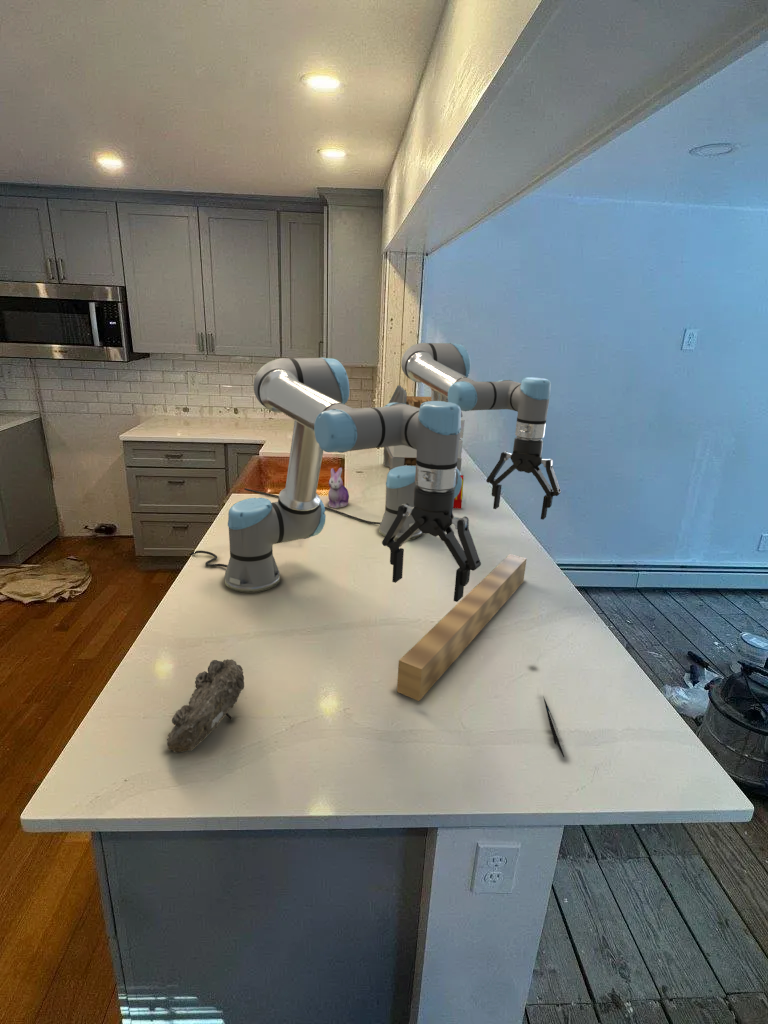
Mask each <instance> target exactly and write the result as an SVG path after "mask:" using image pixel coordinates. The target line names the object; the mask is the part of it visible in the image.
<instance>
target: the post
mask: <svg viewBox="0 0 768 1024" xmlns="http://www.w3.org/2000/svg"><path fill="white" fill-rule="evenodd" d="M527 561H528V559H527V557H524V556H520V555H519V556H518V555H515V554H511V553H509V554H508V555H507V556H506V557H505V558H503V560H501V561H500V562H499V563H498V565H496V566H495V568H493V569H492V570H491V571H490V572H489V573H488V574H487V575H486V576H485V577H484V578H483V579H482V580H481V581H479V583H478V584H477V585H476V586H474V587H473V589H471V590H470V591H469V592H468V594H466V595H465V596H463V597H462V598H461V599H460V600H459V601H458V602H457V604H456V605H455V606H453V608H452V609H450V611H449V612H447V613H446V614H445V615H444V616H443V617H442V619H440V620H439V621H438V622H437V623H436V624H435V625H434V626H433V627H432V628H431V629H430V630H429V631H428V632H427V633H425V634H424V635H423V636H422V637H421V639H419V640H418V641H417V643H415V644H414V645H413V646H412V647H411V648H410V649H409V650H408V651H406V653H404V654H403V656H402V657H400V659H399V660H398V667H397V668H398V670H397V684H396V685H397V686H396V692H397V693H399V694H401V695H403V696H406V697H408V698H411V699H412V700H415V701H418V702H420V701H421V700H422V699H423V698H424V696H425V695H426V694H427V693H428V692H429V691H430V690H431V688H433V686H434V685H435V684H436V682H438V680H439V679H440V678H441V677H442V676H443V674H444V673H445V672H446V671H447V670H448V669H449V668H450V667H451V665H452V664H453V663H454V662H455V661H456V660H457V659H458V657H459V656H460V655H461V654H462V653H463V652H464V651H465V650H466V648H467V647H468V646H469V645H470V644H471V643H472V642H473V640H474V639H475V638H476V637H477V635H478V634H479V633H480V632H481V631H482V630H483V629H484V628H485V626H486V625H487V624H488V623H489V622H490V621H491V620H492V619H493V617H495V615H496V614H497V613H498V612H499V611H500V610H501V608H502V607H503V606H504V605H505V604H506V602H508V600H509V599H510V598H511V597H512V596H513V594H514V593H515V592H516V591H517V590H518V589H519V587H521V585H522V584H523V583H524V581H525V575H526V567H527Z"/></svg>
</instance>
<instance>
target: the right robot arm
mask: <svg viewBox="0 0 768 1024" xmlns="http://www.w3.org/2000/svg"><path fill="white" fill-rule="evenodd" d="M471 362H472V361H471V357H470V354H469V352H468V350H467V349H466V347H465V346H464V345H463V344H460V343H452V342H419V343H416V344H413V345H411V346H410V347H408V348H407V349H406V350H405V352H404V353H403V355H402V357H401V363H400V364H401V370H402V372H403V374H404V376H405V377H407V378H408V379H409V380H410V381H412V382H414V383H418V384H419V383H420V384H421V383H422V384H424V385H425V386H427V387H429V388H430V390H431V391H430V392H431V393H430V397H431V401H443V402H451V403H454V404H457V405H458V406H459V407H460V409H461V412H471V411H497V410H498V411H499V410H510V411H514V412H517V416H516V424H515V431H514V433H515V434H514V435H515V437H514V438H513V439H514V440H513V448H512V453H510V452H508V450H504V451H502V452H501V453H500V456H499V460H497V461H498V462H497V463H496V465H495V466H494V467H493V469H492V471H491V472H490V473H489V475H488V477H487V478H486V479H485V480H486V482H487V483H489V484H491V485H492V487H491V496H492V497H493V498H494V499H493V510H497V509H498V508H499V507H500V504H501V503H500V502H501V493H502V484H500V483H501V482H503V481H504V480H505V479H506V478H507V477H508V476H510V474H512V473H513V472H514V471H515V470H516V471H518V472H521V473H522V472H523V473H526V474H531V473H532V476H534V477H535V479H536V480H537V482H538V483H539V485H540V487H541V488H542V489H543V491H544V493H545V495H544V496H543V500H542V506H541V508H542V509H541V515H540V520H545V519H546V518H547V513H548V509H550V508H551V507H552V506H553V499H554V497H558V496H559V495H561V493H562V491H561V487H560V485H559V481H558V478H557V475H556V472H555V469H554V459H553V458H552V457H551V458H543V457H542V453H543V449H544V447H543V445H544V440H543V439H544V438H545V433H546V425H547V417H548V411H549V405H550V399H551V388H552V387H551V386H552V383H551V381H550V380H549V379H547V378H542V377H531V376H529V377H524V378H522V380H521V382H519V381H514V380H511V379H500V380H496V381H475V380H474V379H471V378H469V374H470V373H471V368H472V363H471ZM509 460H511V462H512V464H511V466H509V467H508V468H507V469H505V471H504V472H503V473H502V474H500V475H499V472H500V471H501V470H502V468H503V466H504V465H505V463H506V461H509ZM541 464H542V465H543V468H545V472H546V474H547V477H548V480H549V482H548V480H547V478H546V477H545V475H544V474H543V472H542V469H541V468H540V465H541ZM415 473H416V466H407V465H404V466H399V467H395V468H393V469H391V470H390V469H389V470H388V472H387V475H386V480H385V504H384V505H385V507H384V508H385V509H384V513H383V515H382V519H381V522H378V521H370V520H367V519H363V518H361V517H360V518H359V517H357V516H354V515H350V514H348V513H345V512H342V511H339V510H338V509H337V510H336V509H335V508H332V507H328V506H324V507H325V510H327V511H331V512H334V513H337V514H340V515H342V516H345V517H348V518H351V519H354V520H357V521H359V522H364V523H366V524H369V525H379V526H378V533H379V534H380V535H381V536H382V537H385V536H386V534H387V532H388V530H389V529H390V527H391V525H392V524H393V522H394V520H395V518H396V517H397V513H398V507H399V506H401V505H403V504H405V503H408V504H409V505H410V506H411V507H414V503H413V502H414V488H415V487H416V486H417V485H416V484H415ZM461 475H462V473H460V471H459V470H458V469H457V470H456V485H455V487H454V488H453V489H454V490H455V494H454V498H455V497H457V496H458V494H459V492H460V490H461V485H462V478H461V477H460V476H461ZM497 475H499V476H498V477H497ZM243 491H248V492H252V493H255V494H259V495H265V496H270V497H273V498H278V499H279V494H278V495H277V494H273V493H267V492H263V491H260V490H254V489H250V488H247V487H245V488H244V489H243ZM414 523H415V521H414V519H413V517H412V515H411V514H410V515H409V516H407V518H406V520H405V522H404V523H403V525H402V527H401V528H400V530H399V532H398V533H397V535H396V537H395V538H394V541H396V540H397V539H398V538H399V537H400V536H401V535H403V534H404V533H405V532H406V531H407V530H408V529H409V528H410V527H411V526H412V525H413V524H414ZM422 535H423V533H422V532H421V531H420V530H418V531H417V532H416V533H415V534H413V535H412V536H411V537H410V538H409V539H408V540H407V541H410V540H415V539H418V538H420V537H421V536H422Z"/></svg>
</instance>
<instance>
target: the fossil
mask: <svg viewBox="0 0 768 1024" xmlns="http://www.w3.org/2000/svg"><path fill="white" fill-rule="evenodd" d="M243 670H244V669H243V667H242V665H240V664H237V662H236V661H235V660H234V659H232V658H231V659H227V658H226V659H224V660H223V661H222V660H217V659H212V660H211V661H210V663H209V665H208V666H207V671H201V672H199V673H198V674H197V675H196V676H195V680H194V684H195V685H194V687H195V689H194V690H193V693H192V694H191V697H190V698H189V700H188V704H184V705H182V706H181V707H180V709H177V710H176V711H175V713H174V715H173V716H172V718H171V723H172V724H173V727H172V730H171V731H170V732H168V734H167V738H166V741H167V742H166V745H167V749H168V750H169V751H173V752H174V753H176V754H178V753H182V752H188V751H189V752H192V751H193V750H195V748H196V747H197V746H199V744H200V743H201V742H203V741H204V740H205V739H206V738H207V737H208V736H209V735H210V734H211V733H212V732H214V730H215V729H217V727H218V726H219V724H220V722H221V721H222V720H223V719H224V718H225V716H226V717H227V719H229V720H233V717H232V715H230V714H229V710H230V709H231V708H234V706H235V704H236V703H237V702H238V699H239V697H240V695H241V693H242V691H243V690H245V689H244V688H245V675H244V671H243Z"/></svg>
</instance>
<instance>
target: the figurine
mask: <svg viewBox="0 0 768 1024" xmlns="http://www.w3.org/2000/svg"><path fill="white" fill-rule="evenodd" d="M342 473H343V467H339V468H338V469H337V471H336V470H335V468H333V467H332V468H330V478H329V480H328V487H329V490H328V502H327V505H328V508H332V509H338V508H344V507H346V506H348V505H349V498H350V494H349V490H348V489H347V487H346V486H345V485H344V482H343V479H342V477H341V476H342Z"/></svg>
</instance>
